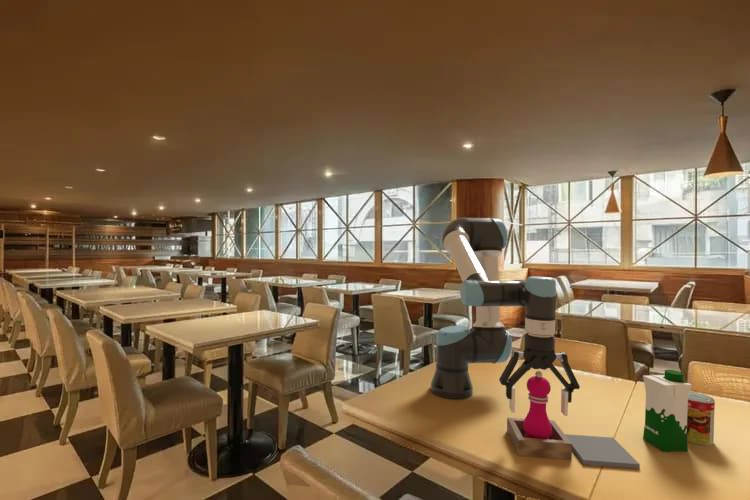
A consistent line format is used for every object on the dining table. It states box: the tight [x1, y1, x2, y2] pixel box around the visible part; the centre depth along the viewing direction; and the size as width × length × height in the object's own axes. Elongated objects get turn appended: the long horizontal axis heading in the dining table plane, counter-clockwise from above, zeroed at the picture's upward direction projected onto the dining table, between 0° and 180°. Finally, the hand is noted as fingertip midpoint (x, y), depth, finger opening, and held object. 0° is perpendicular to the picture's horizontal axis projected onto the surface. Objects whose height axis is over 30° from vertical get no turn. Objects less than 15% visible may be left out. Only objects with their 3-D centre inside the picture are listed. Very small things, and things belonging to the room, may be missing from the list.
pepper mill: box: [523, 370, 552, 439], centre depth 105 cm, size 7×7×20 cm
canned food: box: [687, 391, 716, 447], centre depth 109 cm, size 8×8×12 cm
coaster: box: [564, 433, 641, 470], centre depth 101 cm, size 13×13×1 cm
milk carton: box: [642, 369, 693, 453], centre depth 106 cm, size 9×9×20 cm
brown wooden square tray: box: [506, 416, 573, 460], centre depth 105 cm, size 13×13×4 cm
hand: (537, 412), depth 105 cm, fingers open, 13 cm apart
